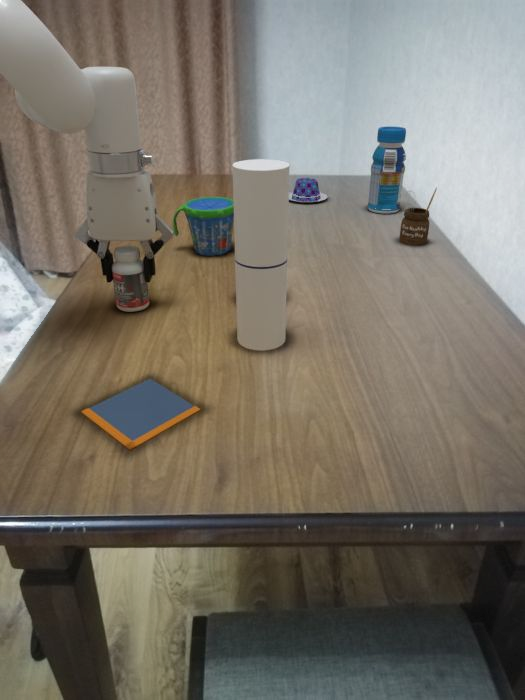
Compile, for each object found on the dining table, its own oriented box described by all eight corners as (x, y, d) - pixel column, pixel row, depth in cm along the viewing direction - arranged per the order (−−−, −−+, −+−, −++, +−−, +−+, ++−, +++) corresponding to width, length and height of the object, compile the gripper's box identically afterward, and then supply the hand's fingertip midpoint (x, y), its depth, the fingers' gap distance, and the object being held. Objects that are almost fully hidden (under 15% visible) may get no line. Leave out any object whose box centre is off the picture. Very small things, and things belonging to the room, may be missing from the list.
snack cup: (169, 258, 110) (164, 208, 105) (183, 241, 119) (179, 195, 114) (244, 262, 108) (243, 211, 103) (253, 245, 117) (252, 197, 112)
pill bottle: (112, 311, 87) (104, 254, 82) (122, 298, 92) (115, 243, 87) (144, 313, 87) (138, 255, 82) (153, 299, 91) (148, 244, 87)
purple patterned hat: (306, 207, 143) (307, 187, 141) (275, 198, 151) (275, 179, 148) (336, 199, 150) (337, 180, 148) (305, 191, 158) (305, 173, 155)
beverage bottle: (360, 209, 141) (367, 128, 131) (380, 204, 146) (388, 124, 136) (386, 216, 136) (396, 131, 126) (406, 210, 140) (417, 128, 130)
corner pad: (81, 413, 64) (81, 411, 64) (150, 380, 70) (149, 377, 70) (130, 452, 58) (130, 449, 58) (200, 411, 64) (200, 409, 64)
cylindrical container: (230, 347, 78) (224, 168, 65) (246, 325, 84) (243, 157, 71) (278, 354, 76) (280, 172, 63) (290, 331, 82) (295, 160, 69)
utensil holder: (400, 236, 121) (407, 182, 115) (429, 239, 120) (437, 184, 114) (397, 245, 117) (404, 188, 111) (426, 248, 115) (435, 191, 109)
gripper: (178, 158, 82) (185, 270, 90) (64, 157, 81) (82, 270, 90) (172, 168, 75) (181, 288, 84) (48, 167, 74) (70, 288, 83)
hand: (130, 278), depth 87 cm, fingers closed on pill bottle, 5 cm apart
